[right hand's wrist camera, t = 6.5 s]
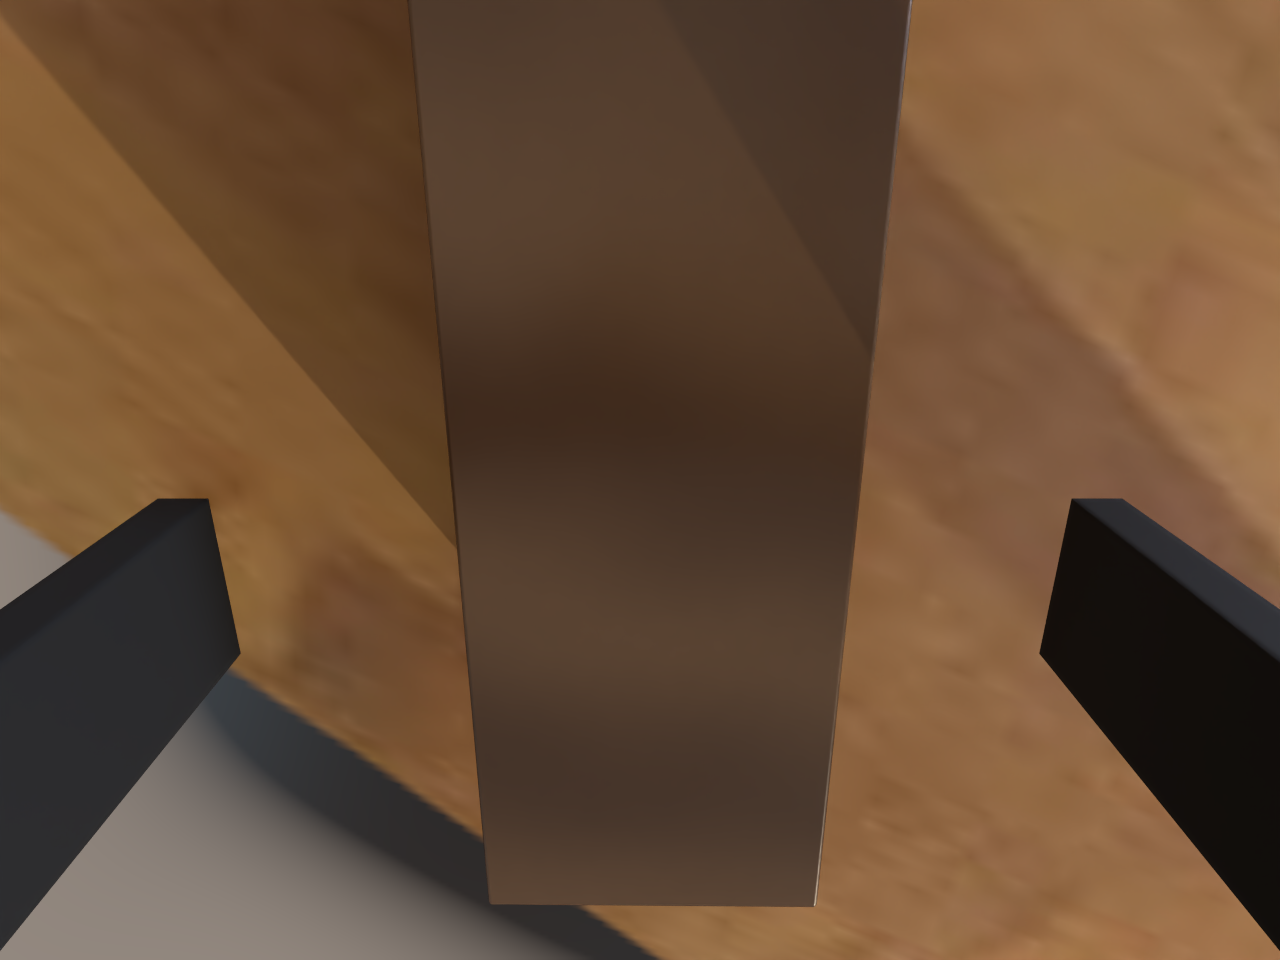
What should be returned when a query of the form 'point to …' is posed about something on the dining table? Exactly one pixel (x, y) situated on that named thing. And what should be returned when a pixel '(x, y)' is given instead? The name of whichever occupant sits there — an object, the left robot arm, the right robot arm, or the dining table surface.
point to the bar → (656, 420)
